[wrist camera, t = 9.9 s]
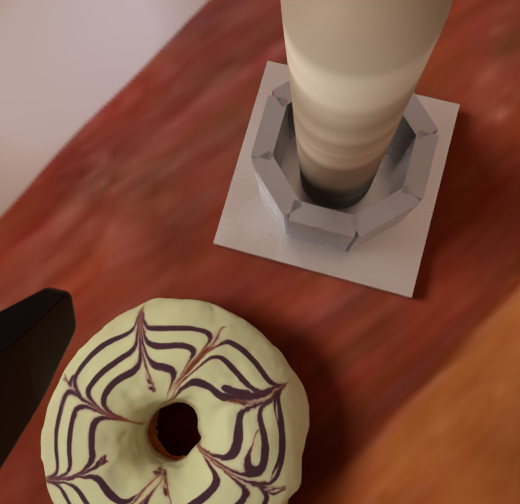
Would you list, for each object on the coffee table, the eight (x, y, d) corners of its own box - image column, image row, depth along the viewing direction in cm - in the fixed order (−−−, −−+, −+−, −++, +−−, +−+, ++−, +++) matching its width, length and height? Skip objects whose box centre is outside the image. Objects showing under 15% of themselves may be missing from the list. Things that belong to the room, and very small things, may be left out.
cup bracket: (407, 298, 22) (435, 293, 18) (216, 245, 23) (196, 228, 19) (454, 111, 23) (491, 61, 19) (268, 69, 24) (261, 12, 20)
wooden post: (376, 205, 22) (464, 59, 9) (303, 213, 22) (287, 82, 9) (368, 136, 22) (442, -101, 9) (297, 144, 22) (273, -74, 10)
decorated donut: (344, 365, 22) (354, 375, 18) (238, 594, 21) (226, 653, 17) (142, 265, 23) (113, 255, 20) (33, 477, 22) (-19, 509, 19)
